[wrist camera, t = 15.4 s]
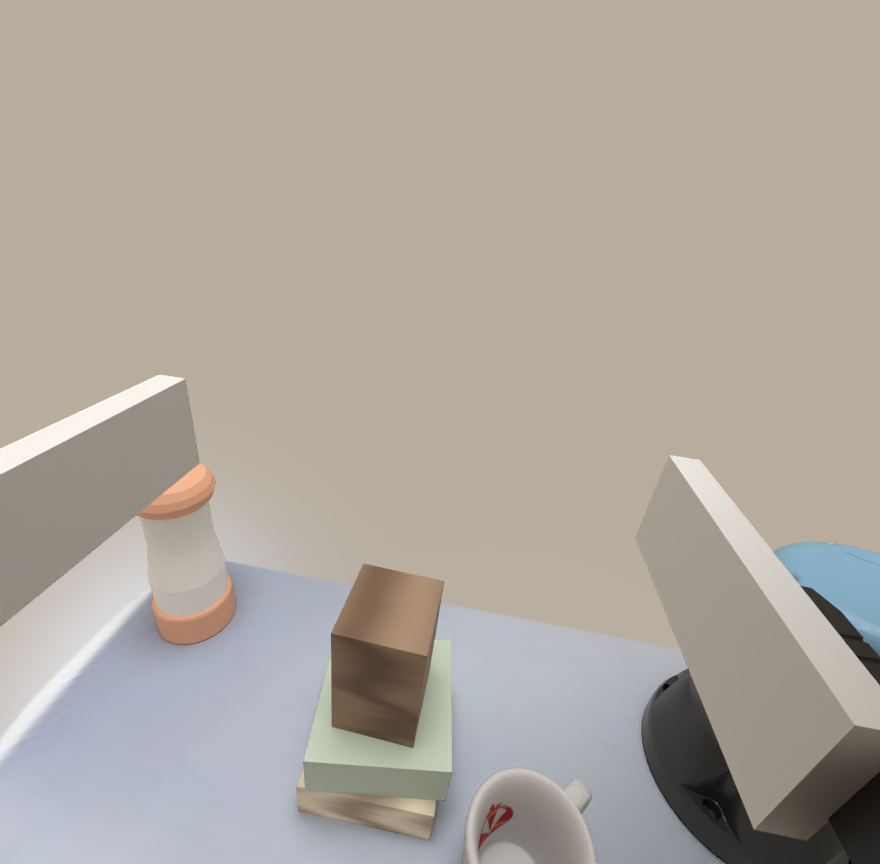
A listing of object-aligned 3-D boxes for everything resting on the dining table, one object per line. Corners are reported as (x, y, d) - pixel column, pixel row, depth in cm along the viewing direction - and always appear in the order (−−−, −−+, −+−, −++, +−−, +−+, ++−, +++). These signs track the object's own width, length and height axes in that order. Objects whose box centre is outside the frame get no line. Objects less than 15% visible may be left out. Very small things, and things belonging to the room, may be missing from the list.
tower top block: (445, 669, 40) (450, 640, 38) (445, 801, 31) (452, 772, 29) (336, 660, 40) (336, 630, 38) (305, 791, 31) (303, 761, 29)
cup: (529, 772, 37) (551, 717, 33) (612, 878, 31) (649, 826, 27) (426, 875, 30) (439, 821, 27) (508, 1029, 25) (537, 988, 21)
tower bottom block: (444, 706, 41) (449, 680, 39) (428, 842, 32) (434, 816, 30) (342, 685, 42) (342, 658, 40) (298, 813, 33) (296, 786, 31)
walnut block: (429, 669, 36) (443, 581, 31) (413, 748, 30) (427, 656, 26) (359, 652, 36) (363, 563, 32) (331, 726, 31) (331, 633, 26)
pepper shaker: (250, 606, 48) (231, 458, 39) (188, 658, 42) (149, 497, 33) (205, 578, 50) (178, 433, 42) (142, 622, 45) (94, 465, 36)
